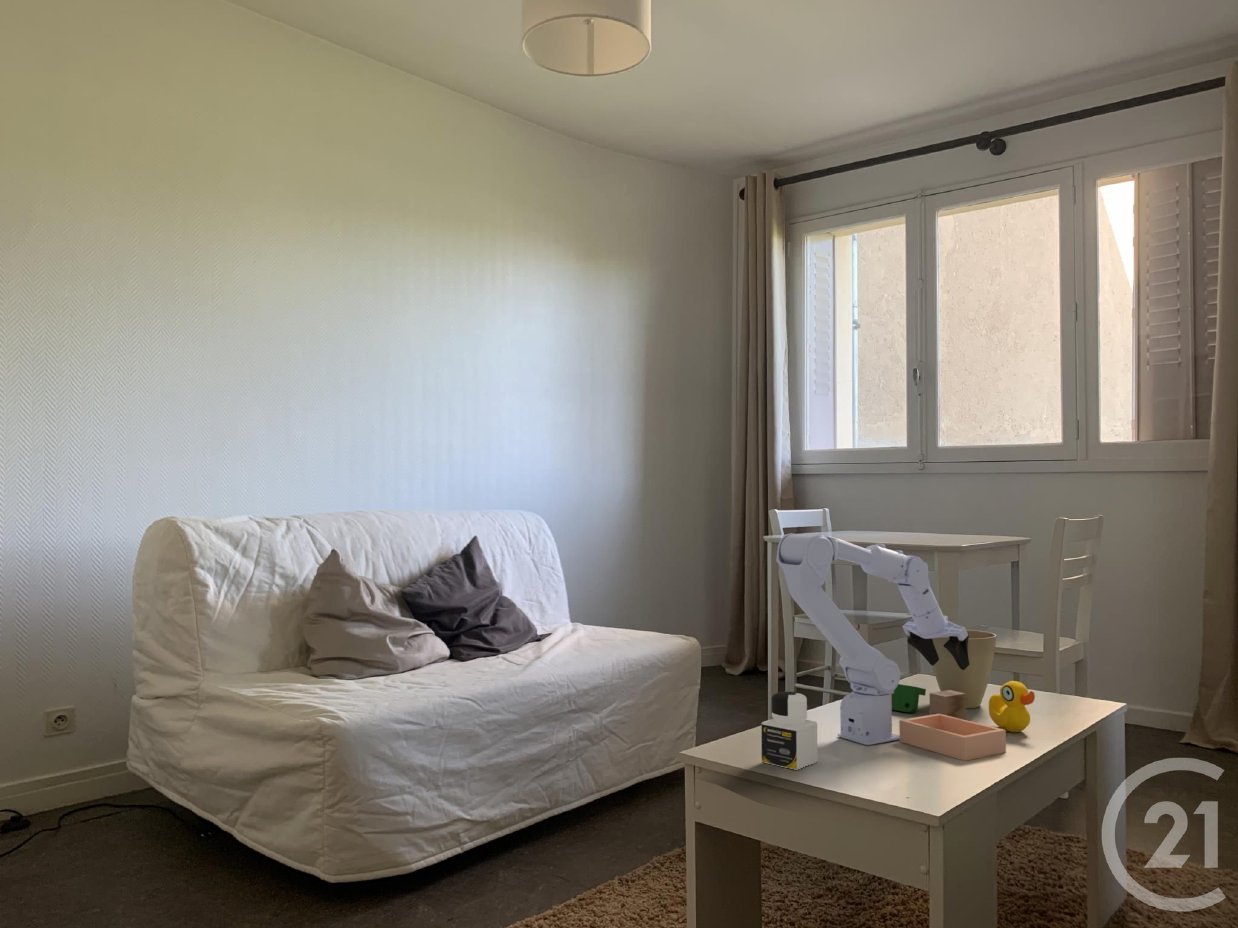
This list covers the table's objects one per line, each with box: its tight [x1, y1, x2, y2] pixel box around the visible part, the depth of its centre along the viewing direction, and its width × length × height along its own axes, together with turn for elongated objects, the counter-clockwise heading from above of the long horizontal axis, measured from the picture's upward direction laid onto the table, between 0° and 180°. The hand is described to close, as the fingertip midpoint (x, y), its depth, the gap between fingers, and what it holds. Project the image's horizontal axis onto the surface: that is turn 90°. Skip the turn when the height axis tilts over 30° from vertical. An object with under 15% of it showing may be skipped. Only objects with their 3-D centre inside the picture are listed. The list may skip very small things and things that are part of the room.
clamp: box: [891, 683, 927, 714], centre depth 202 cm, size 12×6×9 cm, turn 38°
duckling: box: [988, 680, 1036, 733], centre depth 182 cm, size 11×5×10 cm, turn 19°
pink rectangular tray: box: [898, 714, 1007, 761], centre depth 170 cm, size 11×15×4 cm
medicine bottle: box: [760, 691, 819, 771], centre depth 160 cm, size 7×7×12 cm
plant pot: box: [931, 629, 997, 709], centre depth 206 cm, size 15×15×16 cm
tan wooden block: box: [928, 690, 967, 720], centre depth 184 cm, size 6×4×7 cm, turn 120°
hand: (950, 664), depth 186 cm, fingers open, 7 cm apart
